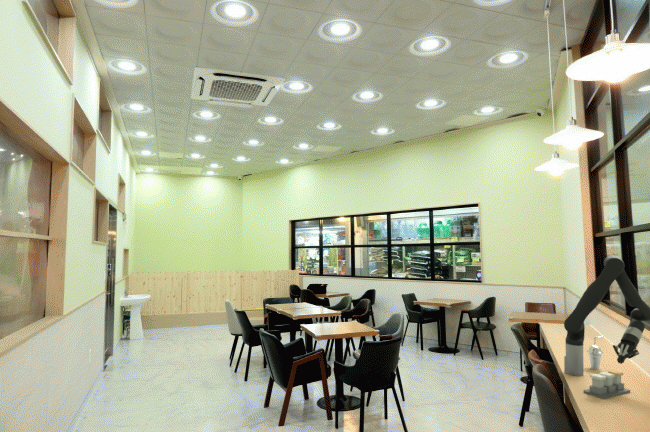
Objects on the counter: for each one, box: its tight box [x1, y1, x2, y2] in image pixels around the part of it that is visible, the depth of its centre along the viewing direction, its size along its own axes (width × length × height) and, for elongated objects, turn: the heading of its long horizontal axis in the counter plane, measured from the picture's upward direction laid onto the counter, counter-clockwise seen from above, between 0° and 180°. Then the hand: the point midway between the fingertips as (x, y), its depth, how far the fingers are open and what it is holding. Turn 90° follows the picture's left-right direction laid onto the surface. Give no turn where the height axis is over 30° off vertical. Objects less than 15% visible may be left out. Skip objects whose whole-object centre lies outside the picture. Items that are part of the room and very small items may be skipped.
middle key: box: [598, 371, 615, 386], centre depth 225 cm, size 5×5×6 cm
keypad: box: [583, 382, 631, 400], centre depth 225 cm, size 24×10×4 cm, turn 118°
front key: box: [589, 373, 606, 388], centre depth 222 cm, size 5×5×6 cm
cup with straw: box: [586, 335, 605, 370], centre depth 271 cm, size 8×9×20 cm
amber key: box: [607, 369, 624, 384], centre depth 229 cm, size 5×5×6 cm
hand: (619, 362), depth 231 cm, fingers closed
